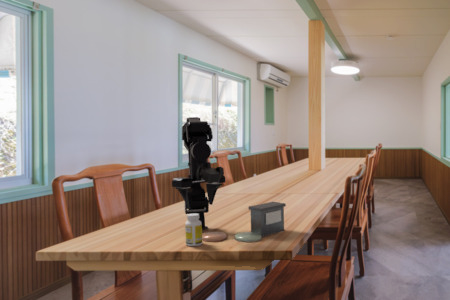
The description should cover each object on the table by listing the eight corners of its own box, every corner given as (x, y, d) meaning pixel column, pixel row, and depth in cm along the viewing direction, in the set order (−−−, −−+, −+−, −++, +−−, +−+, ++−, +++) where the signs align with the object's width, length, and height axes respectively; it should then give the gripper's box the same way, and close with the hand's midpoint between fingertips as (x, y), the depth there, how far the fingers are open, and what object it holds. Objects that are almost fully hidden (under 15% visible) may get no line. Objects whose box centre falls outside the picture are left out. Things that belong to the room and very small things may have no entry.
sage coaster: (229, 238, 128) (229, 235, 128) (248, 233, 134) (248, 230, 134) (248, 243, 121) (248, 240, 121) (266, 238, 127) (266, 235, 127)
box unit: (249, 234, 132) (248, 206, 131) (273, 228, 140) (273, 201, 140) (261, 237, 127) (260, 208, 127) (286, 230, 136) (285, 203, 135)
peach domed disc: (195, 238, 129) (195, 235, 129) (215, 233, 135) (214, 230, 135) (211, 243, 122) (211, 240, 122) (231, 237, 128) (231, 235, 128)
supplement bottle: (202, 241, 125) (201, 212, 125) (202, 246, 119) (201, 216, 119) (186, 242, 125) (185, 213, 124) (185, 246, 119) (184, 216, 119)
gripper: (191, 161, 111) (193, 213, 111) (236, 158, 124) (237, 205, 124) (170, 160, 119) (171, 209, 119) (213, 157, 132) (215, 201, 132)
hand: (200, 206), depth 123 cm, fingers open, 9 cm apart
